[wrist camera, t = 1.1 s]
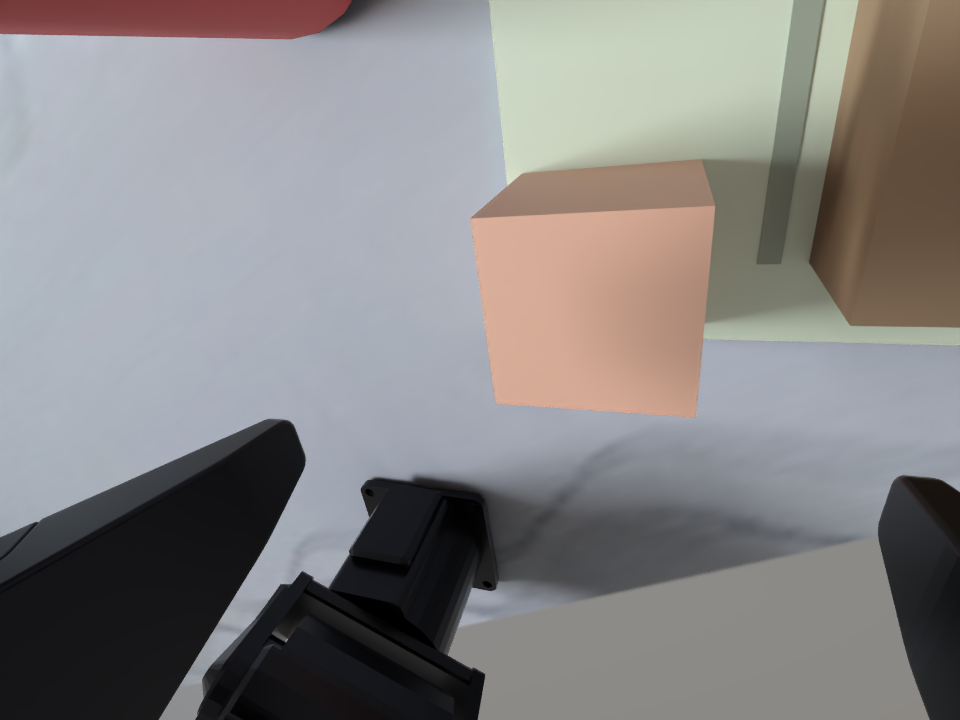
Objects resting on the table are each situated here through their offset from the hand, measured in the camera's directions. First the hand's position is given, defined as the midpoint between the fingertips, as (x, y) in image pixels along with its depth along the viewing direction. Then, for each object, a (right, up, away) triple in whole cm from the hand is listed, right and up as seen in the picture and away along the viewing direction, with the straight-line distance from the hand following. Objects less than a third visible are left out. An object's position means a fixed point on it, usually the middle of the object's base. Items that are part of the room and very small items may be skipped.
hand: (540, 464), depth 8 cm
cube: (+3, +5, +8) cm, 10 cm away
